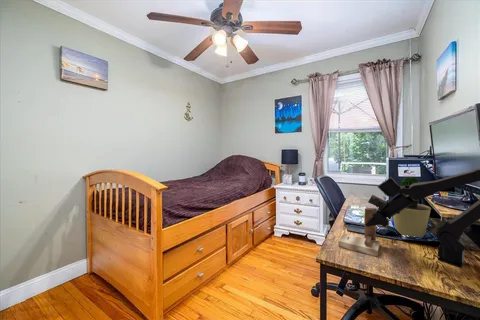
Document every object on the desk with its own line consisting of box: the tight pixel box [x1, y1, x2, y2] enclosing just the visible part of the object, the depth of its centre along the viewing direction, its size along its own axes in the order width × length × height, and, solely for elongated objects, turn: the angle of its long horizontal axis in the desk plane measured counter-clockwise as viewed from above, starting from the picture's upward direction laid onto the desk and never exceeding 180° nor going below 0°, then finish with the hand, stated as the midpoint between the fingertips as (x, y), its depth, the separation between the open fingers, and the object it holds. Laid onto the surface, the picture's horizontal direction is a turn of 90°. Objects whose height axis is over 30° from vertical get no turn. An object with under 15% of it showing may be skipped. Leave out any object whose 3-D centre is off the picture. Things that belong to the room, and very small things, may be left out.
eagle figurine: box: [426, 225, 437, 238], centre depth 96 cm, size 8×7×9 cm
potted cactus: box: [392, 176, 432, 237], centre depth 104 cm, size 15×15×30 cm
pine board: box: [337, 233, 381, 257], centre depth 94 cm, size 15×10×3 cm, turn 51°
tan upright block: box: [364, 206, 377, 246], centre depth 93 cm, size 4×12×16 cm, turn 141°
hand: (366, 224), depth 98 cm, fingers closed on tan upright block, 4 cm apart
